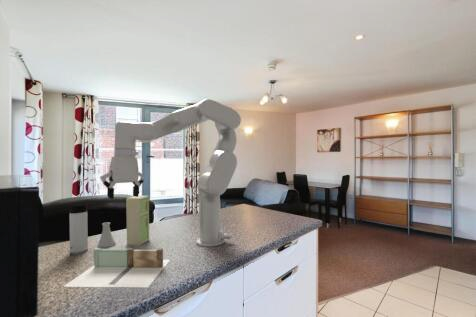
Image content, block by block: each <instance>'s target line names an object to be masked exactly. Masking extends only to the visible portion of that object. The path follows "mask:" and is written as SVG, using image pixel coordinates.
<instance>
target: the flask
mask: <svg viewBox="0 0 476 317" xmlns="http://www.w3.org/2000/svg"><path fill="white" fill-rule="evenodd" d="M101 225H102V230H101V231H102V232H101V234H100V239H99V241H98V244H97V248H101V249H106V248H110V247H113V246H115V245H116V241H115V239H114V236H113V234H112V231H111V227H110V225H111V222H108V221H107V222H103V223H101Z"/></svg>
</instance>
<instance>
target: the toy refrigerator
mask: <svg viewBox="0 0 476 317" xmlns="http://www.w3.org/2000/svg"><path fill="white" fill-rule="evenodd" d="M149 198H150V197H149V195H140V194H138V197H136V196H133V195H132V196H130V197H126V200H125V201H126V202H125V203H126V204H125V205H126V206H125V208H126V211H125V212H126V245H128V246H141V245H143V244H145V243H147V242H148V241H150V203H149V202H150V200H149Z"/></svg>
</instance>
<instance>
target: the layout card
mask: <svg viewBox="0 0 476 317" xmlns="http://www.w3.org/2000/svg"><path fill="white" fill-rule="evenodd" d="M170 261H171V260H170V259H163V266H162V268H161V267H134V266H133V267H128V266H99V267H94V265H92V266H91V267H90V268H88V269H86V270H85V271H83V272H82V273H81V274H79V275H78V276H76V277H75V278H73V279H72V280H70V281H69V282H68V283H66V284H64V285H63V287H64V288H67V287H68V288H149V287H150V286H151V285H152V283H153V282H154V281H155V279H156V278H157V277H158V276H159V275H160V274H161V272H162V271H163V270H164V268H165V267H166V265H167V264H168V263H169V262H170Z"/></svg>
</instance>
